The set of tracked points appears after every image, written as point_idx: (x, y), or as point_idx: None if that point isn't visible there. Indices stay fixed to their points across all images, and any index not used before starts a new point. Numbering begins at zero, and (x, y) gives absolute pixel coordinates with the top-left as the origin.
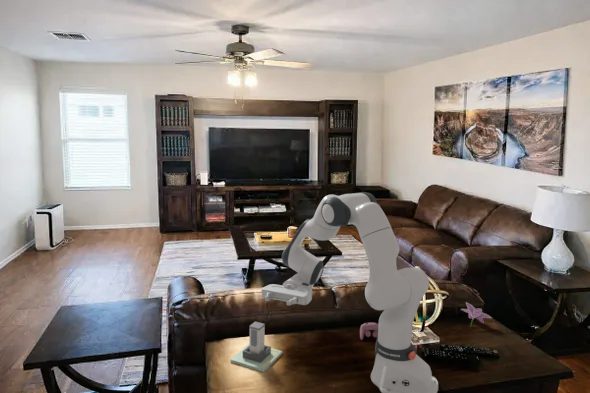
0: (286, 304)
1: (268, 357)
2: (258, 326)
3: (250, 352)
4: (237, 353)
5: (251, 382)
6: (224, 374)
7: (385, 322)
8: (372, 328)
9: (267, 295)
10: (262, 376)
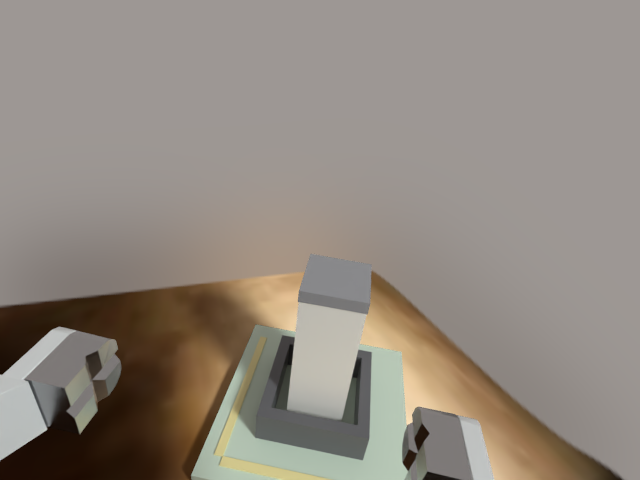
0: (117, 370)
1: (257, 398)
2: (322, 266)
3: None
4: (403, 393)
5: (279, 289)
6: (372, 304)
7: None
8: None
9: (478, 475)
10: (254, 314)
